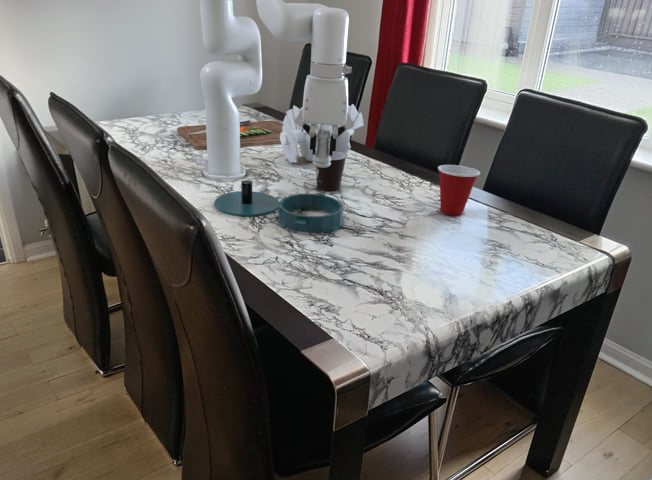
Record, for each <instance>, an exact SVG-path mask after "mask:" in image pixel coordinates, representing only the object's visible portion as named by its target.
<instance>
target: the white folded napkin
mask: <svg viewBox="0 0 652 480" xmlns="http://www.w3.org/2000/svg"><path fill="white" fill-rule="evenodd" d="M302 108H303V106H302V107H300V108H299V107H297V106H296V105H292V108H290V109H289V110H287V111H286V115H284V119H283V121H282V124H283V126H282V132H281V134H280V141H281V144H280V145H281V148H282V151H283V154H284V157H285V159H287V160H288V161H289V163H290V164H292V165H293V163H298V158H297V157H298V156H299V154H300V153H301V155H302V156H303V158H304V159H305V160H306V161H307V162H309V161H311V162H313V161H314V160H313V157H314V156H315V155H312V151H313V150H310V136H309V134H308V133H307V132H306V131H305V130H304V129H303V128H302V127H300V126H299V125H297V124H296V123H295V119H296V118H297V116H298V115H299V113H300V111H301V110H302ZM348 113H349V115H350V117H351V119H352V121H353V124H354V126H353V127H352V128H350V129H348V130H346V131H344V132H343V133H342V134H341V135H340V136H339V137H338V138H337V139H336V152H341V153H343V154H345V155H346V158H348V157H349V154H348V152H349V151H350V149H351V148H352V146H351V143H350V139H351V136H353V135H354V134H355V130H357V129H359V128H362V127H364V126H365V124H364V123H365V122H364V117H363V113H362V112H359V111H358V110H357V108H356V106H355V104H353V103H352V104H351V105H349V104H348ZM304 122H305V121H304ZM308 125H309V126H311V123H308ZM343 125H344V124H343ZM340 126H341V125H338V128H339V127H340ZM319 130H322V132H323V130H325V132H326V131H327V130H328V131H329V134H330V135H331V134H332V133H333V132H332V125H324V124H316V129H315V132H316V135H317V134H318V131H319ZM317 141H318V137H316V149H317V147H318V142H317ZM328 141H329V143H328V151H329V150H330V137H329V139H328Z"/></svg>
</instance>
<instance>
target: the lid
mask: <svg viewBox="0 0 652 480" xmlns="http://www.w3.org/2000/svg"><path fill="white" fill-rule="evenodd" d="M240 187H241V188H240V190H239V191H232V192H227V193H224V194H221V195H220V196H218V197H216V199H214V208H216V210H218V211H219V212H221V213H223V214H226V215H229V216H235V217H246V218H249V217H250V218H251V217H262V216H265V215H269V214H272V213H274V212H275V211H277V210H278V209H279V202H280V201H279V200H278V198H276V197H275V196H274V195H272V194H268V193H265V192H260V191H253V181H252V180H250V179H243V180H242V181H241V182H240Z"/></svg>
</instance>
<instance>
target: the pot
mask: <svg viewBox="0 0 652 480" xmlns="http://www.w3.org/2000/svg"><path fill="white" fill-rule="evenodd" d="M277 210H278V213H277V214H278V215H277V216H278V217H277V218H278V222H279V224H280V225H282V226H283V227H284V228H286V229H290V230H292V231H295V232H300V233H301V232H302V233H308V234H312V233H313V234H315V233H316V234H318V233H324V234H330V233H333V232H336V231H337V230H339V229H340V228H341V226H342V223H343V217H344V205H343V203H342V202H341V201H340V200H338V199H336V198H335V197H331V196H328V195H326V194H325V193H319V192H316V193H298V194H291V195H287V196H285V197H283V198H281V200H280V201H279V207H278V209H277ZM299 210H315V211H322V212H325V213H328V214H324V215H306V214H305V215H304V214H299V213H295V212H294V211H299Z"/></svg>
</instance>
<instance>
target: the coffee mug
mask: <svg viewBox="0 0 652 480" xmlns="http://www.w3.org/2000/svg"><path fill="white" fill-rule="evenodd" d="M328 152H329V151H328ZM315 154H316V153H315ZM329 156H330V155H329ZM330 158H331V161H330V163H331V165H330V166H329V167H325V168H321V167H316V166H315V177H316V189H317V190H319V191H320V192H326V193H334V192H338V191H340V189H341V184H342V178H343V174H344V169H345V164H346V159H347V157H346V155H345V154H343V153H341V152H335V151H333V153H332V156H330Z"/></svg>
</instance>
